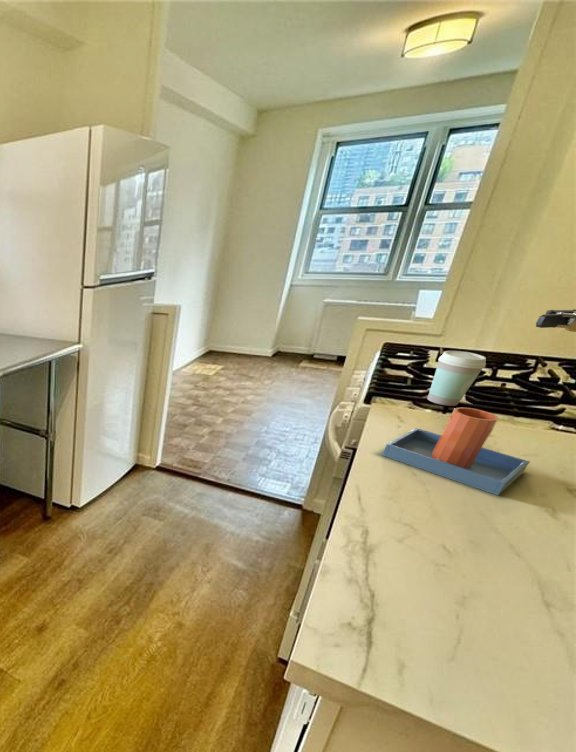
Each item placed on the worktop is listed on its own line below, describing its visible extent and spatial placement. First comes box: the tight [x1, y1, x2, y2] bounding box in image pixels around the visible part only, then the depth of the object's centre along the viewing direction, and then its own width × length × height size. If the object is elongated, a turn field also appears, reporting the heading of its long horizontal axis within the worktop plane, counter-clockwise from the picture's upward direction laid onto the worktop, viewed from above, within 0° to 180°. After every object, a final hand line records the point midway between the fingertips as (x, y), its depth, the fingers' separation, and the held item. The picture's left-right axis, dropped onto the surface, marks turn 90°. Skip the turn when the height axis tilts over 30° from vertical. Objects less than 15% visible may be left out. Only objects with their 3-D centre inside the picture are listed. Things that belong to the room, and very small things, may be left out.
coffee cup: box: [426, 350, 487, 407], centre depth 118 cm, size 8×9×12 cm
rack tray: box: [381, 427, 530, 496], centre depth 92 cm, size 17×14×2 cm
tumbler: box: [431, 406, 500, 469], centre depth 90 cm, size 6×6×10 cm
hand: (570, 327), depth 82 cm, fingers open, 8 cm apart
